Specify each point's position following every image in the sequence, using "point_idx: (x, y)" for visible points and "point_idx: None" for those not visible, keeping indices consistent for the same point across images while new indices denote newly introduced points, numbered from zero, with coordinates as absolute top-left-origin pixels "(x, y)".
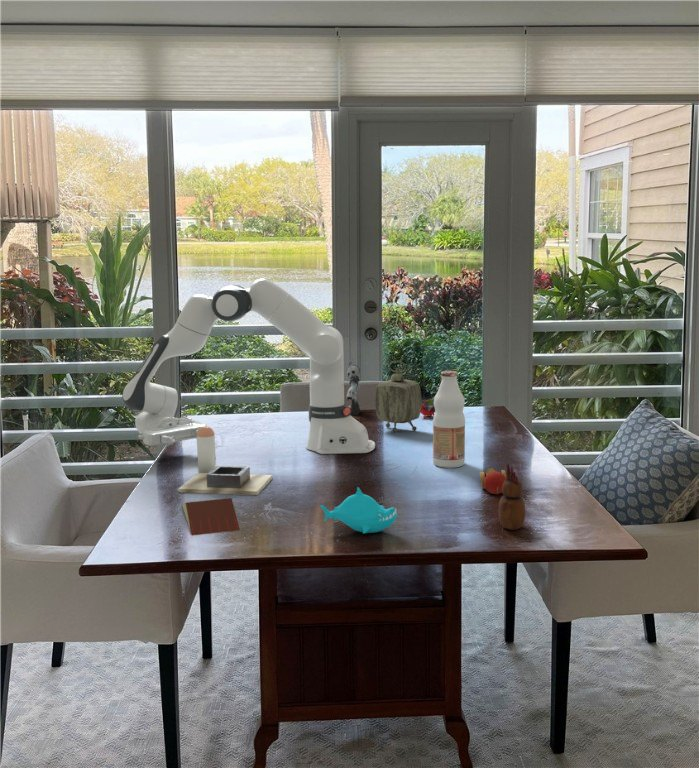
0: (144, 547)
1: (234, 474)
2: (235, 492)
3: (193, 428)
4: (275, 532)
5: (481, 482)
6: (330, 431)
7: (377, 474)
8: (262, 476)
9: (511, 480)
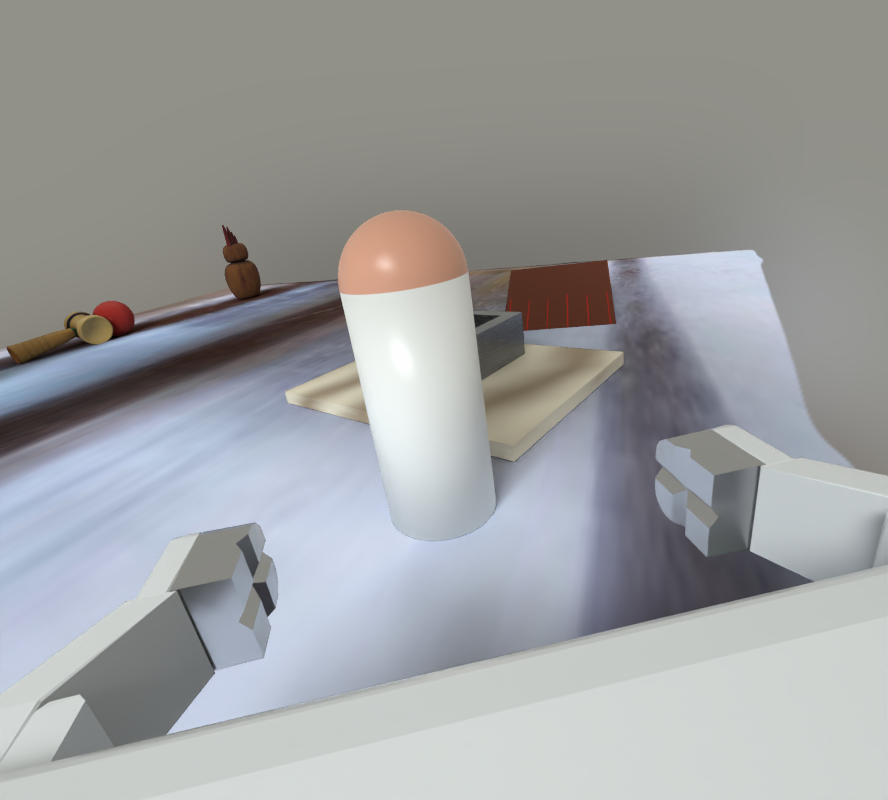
0: (679, 265)
1: None
2: None
3: (41, 764)
4: (477, 286)
5: (111, 325)
6: None
7: (81, 391)
8: (318, 388)
9: (234, 242)
